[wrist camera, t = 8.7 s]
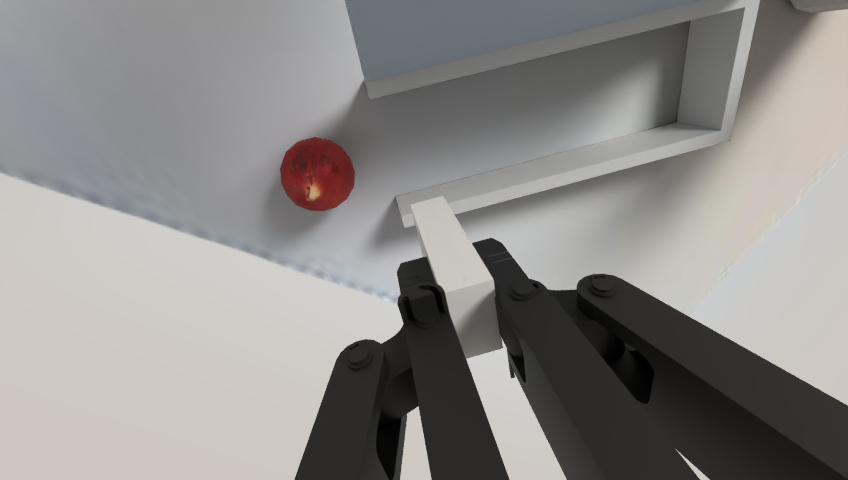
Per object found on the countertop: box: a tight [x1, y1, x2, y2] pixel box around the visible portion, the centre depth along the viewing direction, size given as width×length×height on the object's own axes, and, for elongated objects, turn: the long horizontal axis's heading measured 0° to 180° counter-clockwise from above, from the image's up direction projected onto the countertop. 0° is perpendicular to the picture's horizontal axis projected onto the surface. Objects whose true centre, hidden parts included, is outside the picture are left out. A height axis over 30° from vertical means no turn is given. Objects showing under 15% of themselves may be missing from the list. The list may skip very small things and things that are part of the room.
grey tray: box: [364, 0, 760, 228], centre depth 31 cm, size 12×31×5 cm, turn 102°
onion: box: [280, 137, 355, 211], centre depth 28 cm, size 6×6×8 cm
